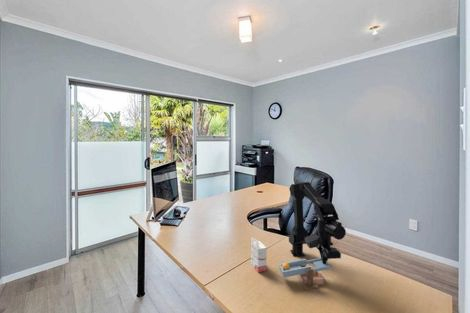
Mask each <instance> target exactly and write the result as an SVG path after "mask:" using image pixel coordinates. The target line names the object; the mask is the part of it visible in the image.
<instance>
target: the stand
mask: <svg viewBox="0 0 470 313" xmlns="http://www.w3.org/2000/svg"><path fill="white" fill-rule="evenodd" d="M302 259H303V258H300V259H299V260H302ZM306 266H307V265H304V266H300V267H306ZM302 287H303V289H304V290H309V289H310V290H315V289H319V285H317V284H313V268H311V269H307V284H303V285H302Z"/></svg>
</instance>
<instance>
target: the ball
mask: <svg viewBox="0 0 470 313" xmlns="http://www.w3.org/2000/svg"><path fill="white" fill-rule="evenodd" d="M283 263H284V264H283V265H282V268H283V270H284V271H286V270H290V265H289V264H288V263H286V262H283Z"/></svg>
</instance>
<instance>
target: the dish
mask: <svg viewBox="0 0 470 313" xmlns="http://www.w3.org/2000/svg"><path fill="white" fill-rule="evenodd" d="M296 276H297V278H298V279H299V282H300V283H301V285H302V286H303V284H307V273H306V274H301V275H296ZM325 280H326V278H325V277H324V276H323V274H322V273H321V271H316V272H313V284H317V285H318V286H325V285H326V284H325V283H326V282H325Z"/></svg>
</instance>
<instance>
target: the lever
mask: <svg viewBox="0 0 470 313" xmlns="http://www.w3.org/2000/svg"><path fill="white" fill-rule="evenodd" d="M301 259H302V260H300V259H297V260H292V261H287V262H282V263H278V267H279V271H280V273H281V275H282V278H283V279H285V278H290V277H294V276H297V275H301V274H306V273H307V269H313V272H316V271H319V272H321V271H324V270H331V269H332V268H333V267H332V265H331V264H329V262H328V261H327V262H326V263H325V264H323V263H322V260H321V257H319V258H313V259H308V260H307V258H301ZM284 263H288V264H289V265H290V270H286V271H284V270H283V268H282V265H283V264H284ZM308 264H312V265H313V266H314V268H312V266H311V265H308ZM304 265H306V267H300V266H304ZM307 265H308V266H307Z"/></svg>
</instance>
